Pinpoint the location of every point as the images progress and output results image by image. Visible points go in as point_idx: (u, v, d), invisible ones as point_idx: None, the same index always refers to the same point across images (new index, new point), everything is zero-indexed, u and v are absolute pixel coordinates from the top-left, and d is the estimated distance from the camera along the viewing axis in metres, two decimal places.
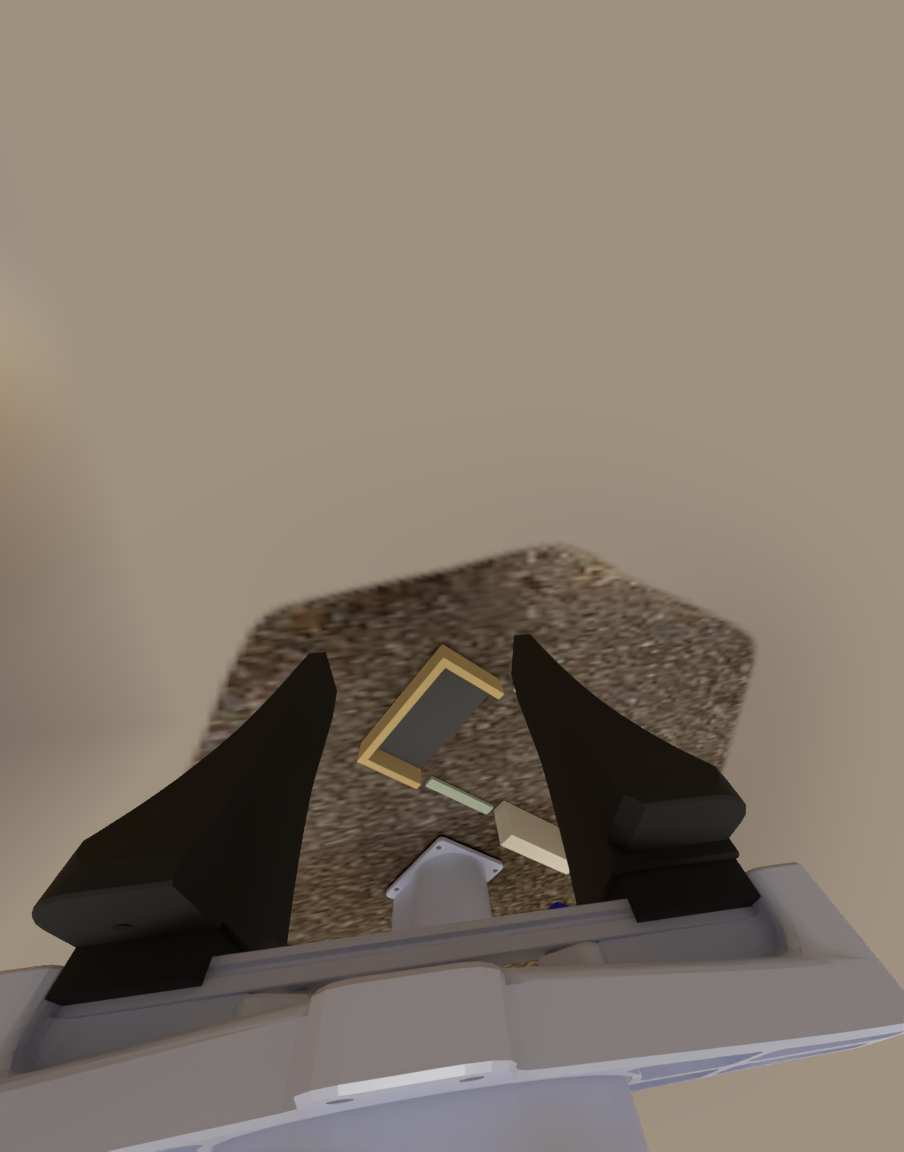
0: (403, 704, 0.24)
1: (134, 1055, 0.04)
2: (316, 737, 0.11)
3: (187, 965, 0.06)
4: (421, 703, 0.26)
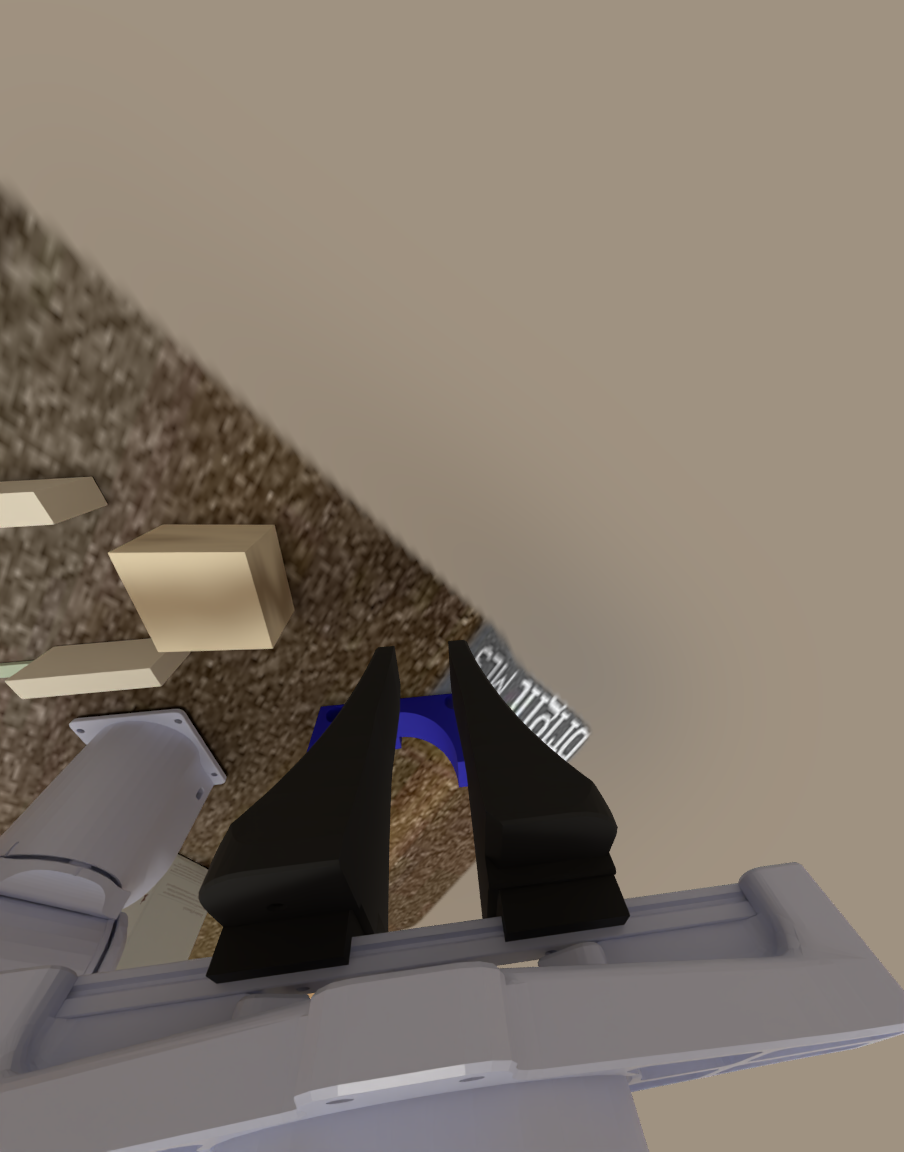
0: None
1: (134, 1055, 0.04)
2: (392, 729, 0.11)
3: (336, 944, 0.06)
4: None
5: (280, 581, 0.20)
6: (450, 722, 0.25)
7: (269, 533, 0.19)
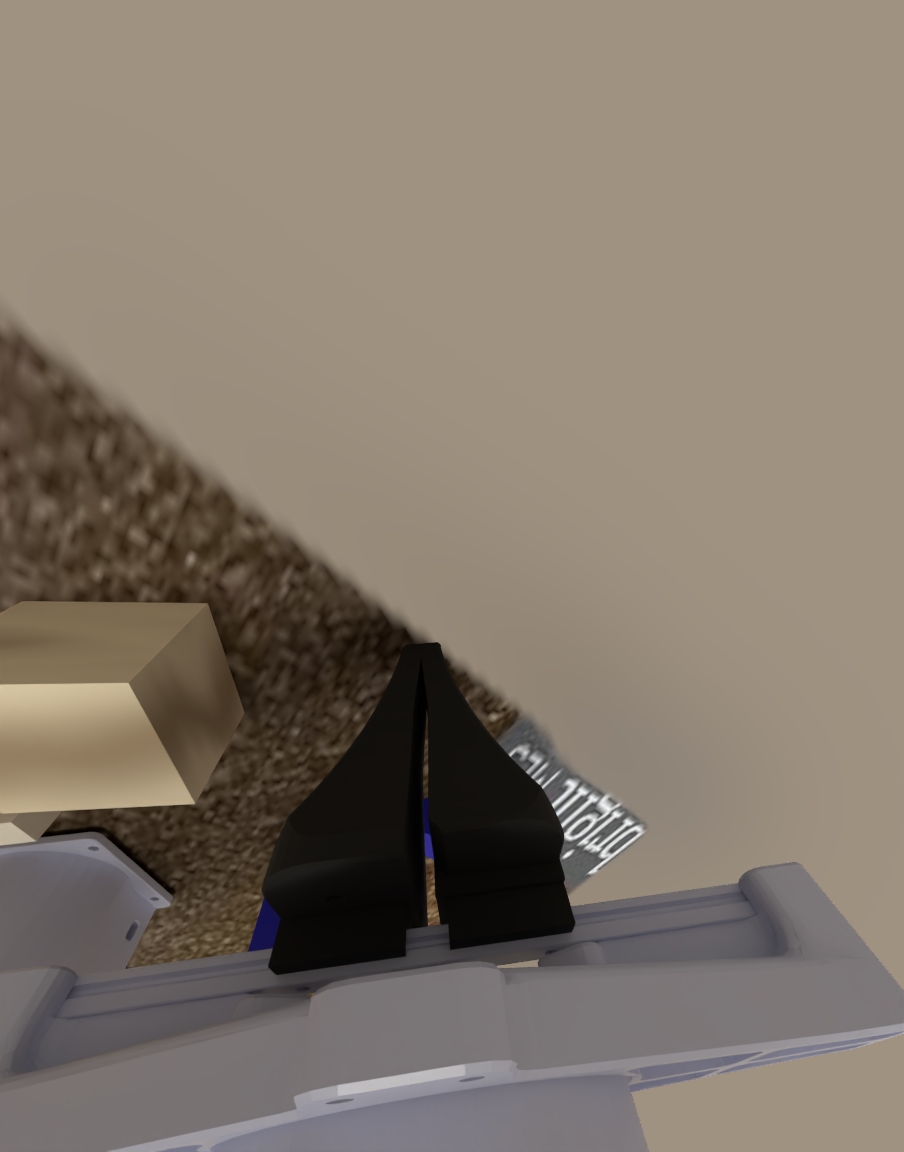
0: None
1: (134, 1055, 0.04)
2: (422, 726, 0.11)
3: (393, 936, 0.06)
4: None
5: (216, 687, 0.13)
6: None
7: (195, 622, 0.12)
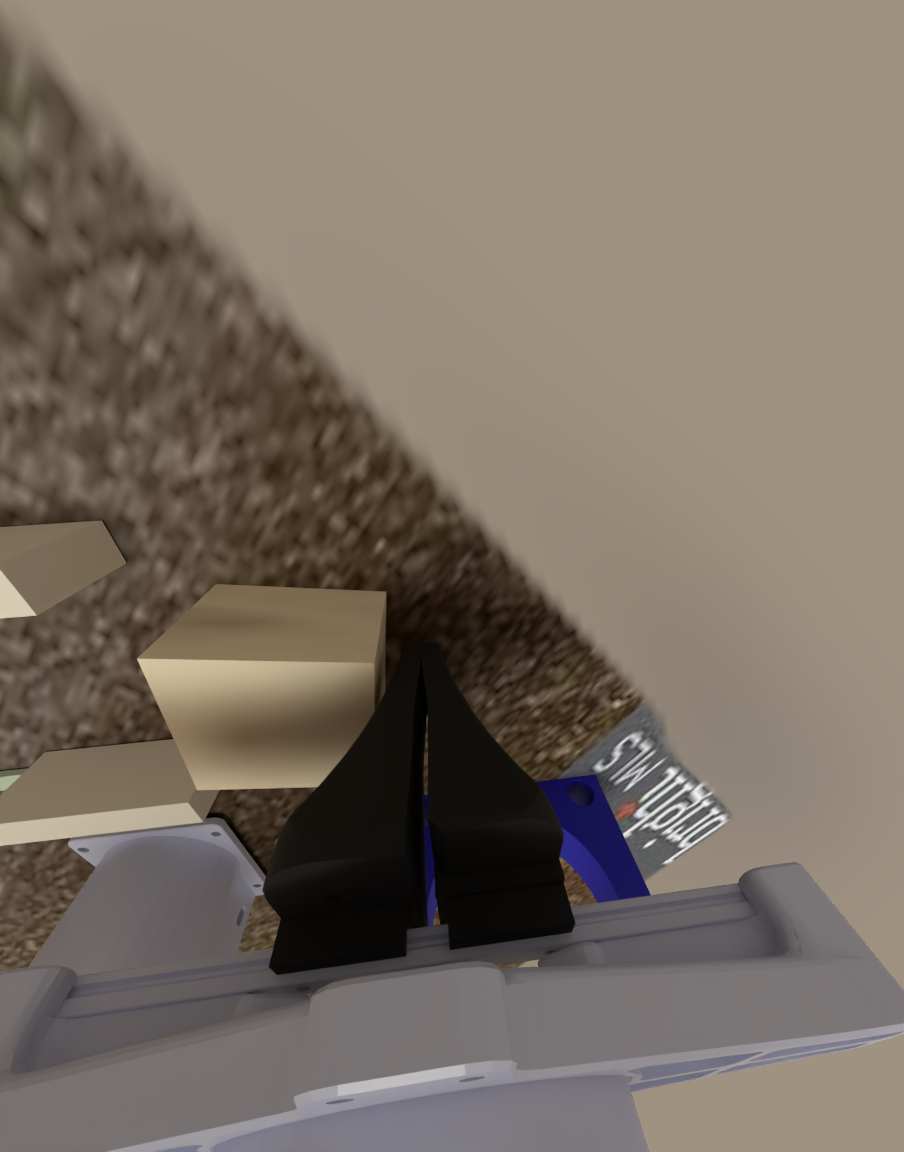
0: None
1: (134, 1055, 0.04)
2: (423, 726, 0.11)
3: (394, 936, 0.06)
4: None
5: (383, 674, 0.13)
6: (587, 830, 0.18)
7: (383, 609, 0.12)
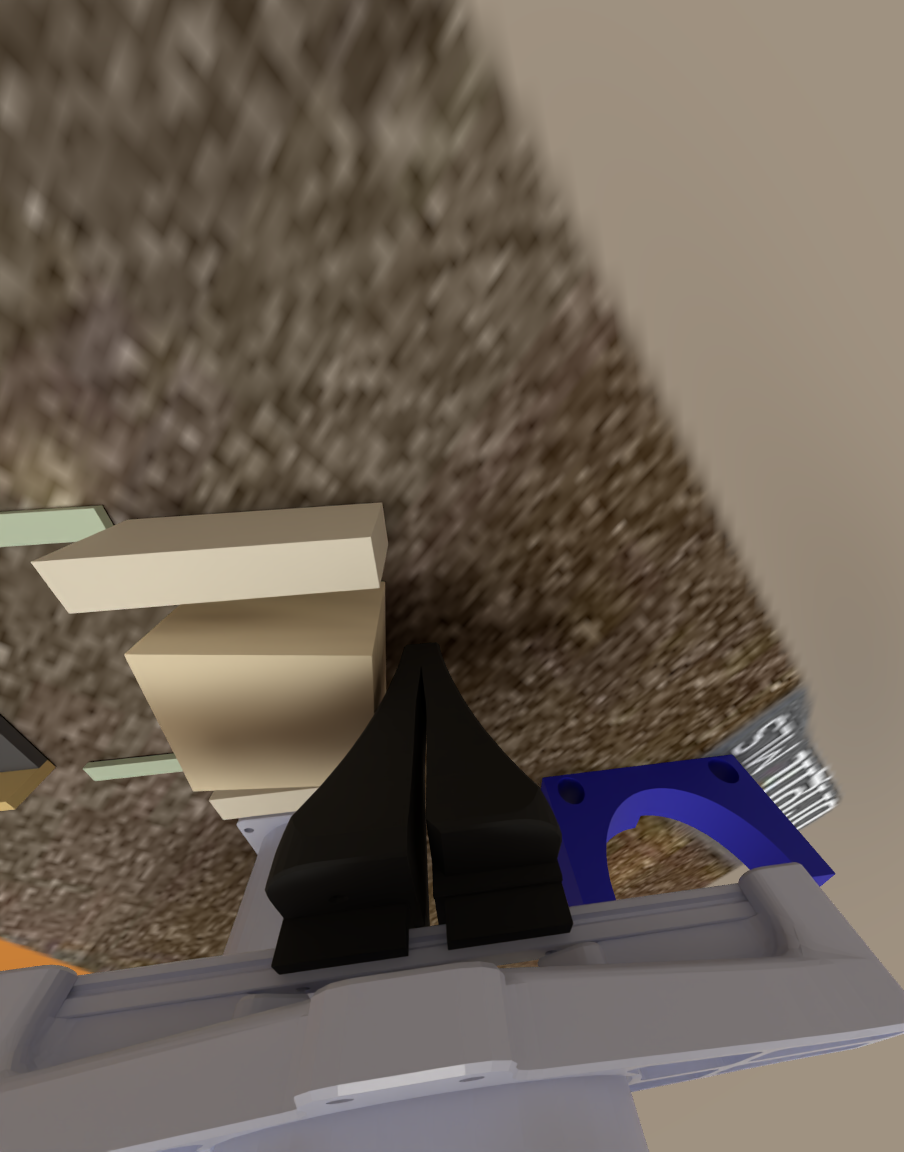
0: None
1: (134, 1055, 0.04)
2: (424, 726, 0.11)
3: (396, 936, 0.06)
4: None
5: (383, 669, 0.13)
6: (743, 806, 0.18)
7: (382, 601, 0.12)
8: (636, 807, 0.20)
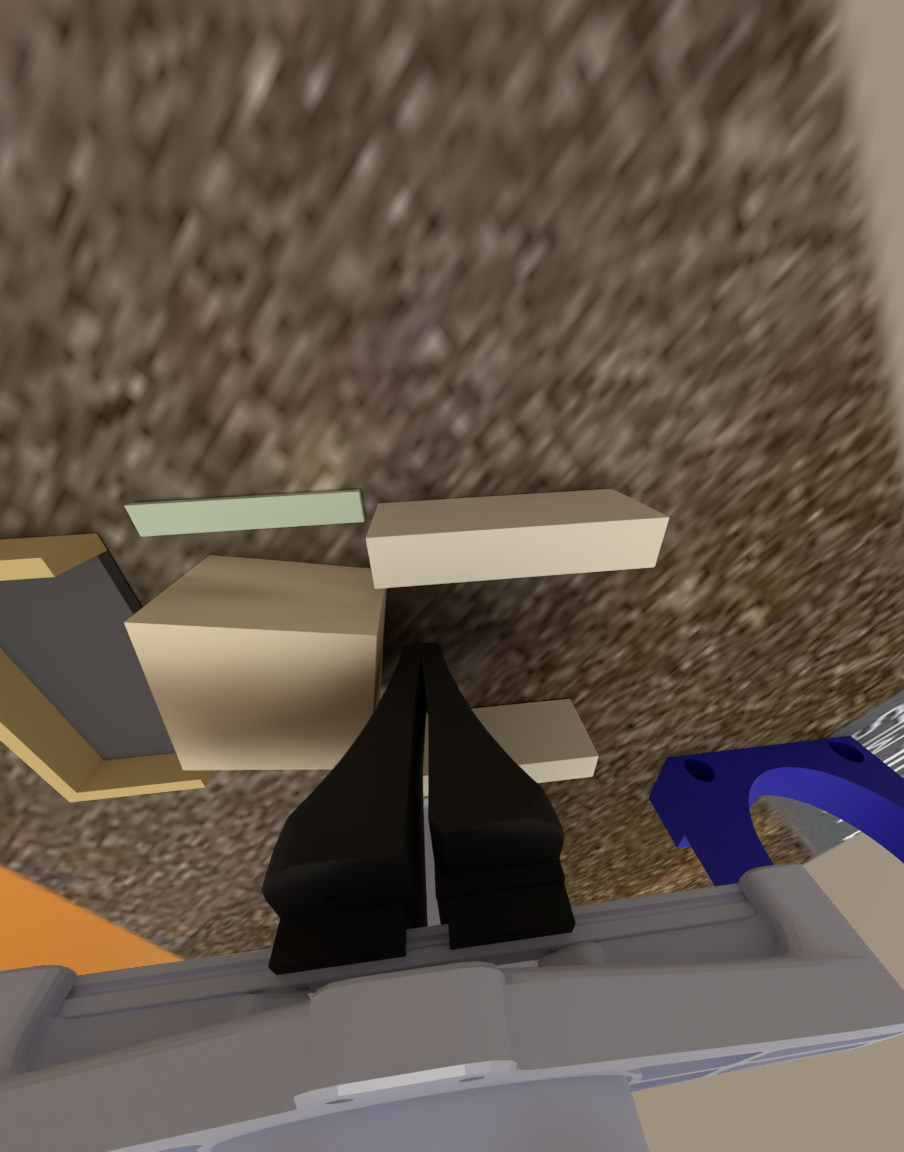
0: None
1: (134, 1055, 0.04)
2: (422, 726, 0.11)
3: (393, 936, 0.06)
4: (52, 667, 0.12)
5: (381, 655, 0.13)
6: (877, 783, 0.18)
7: None
8: (759, 787, 0.20)
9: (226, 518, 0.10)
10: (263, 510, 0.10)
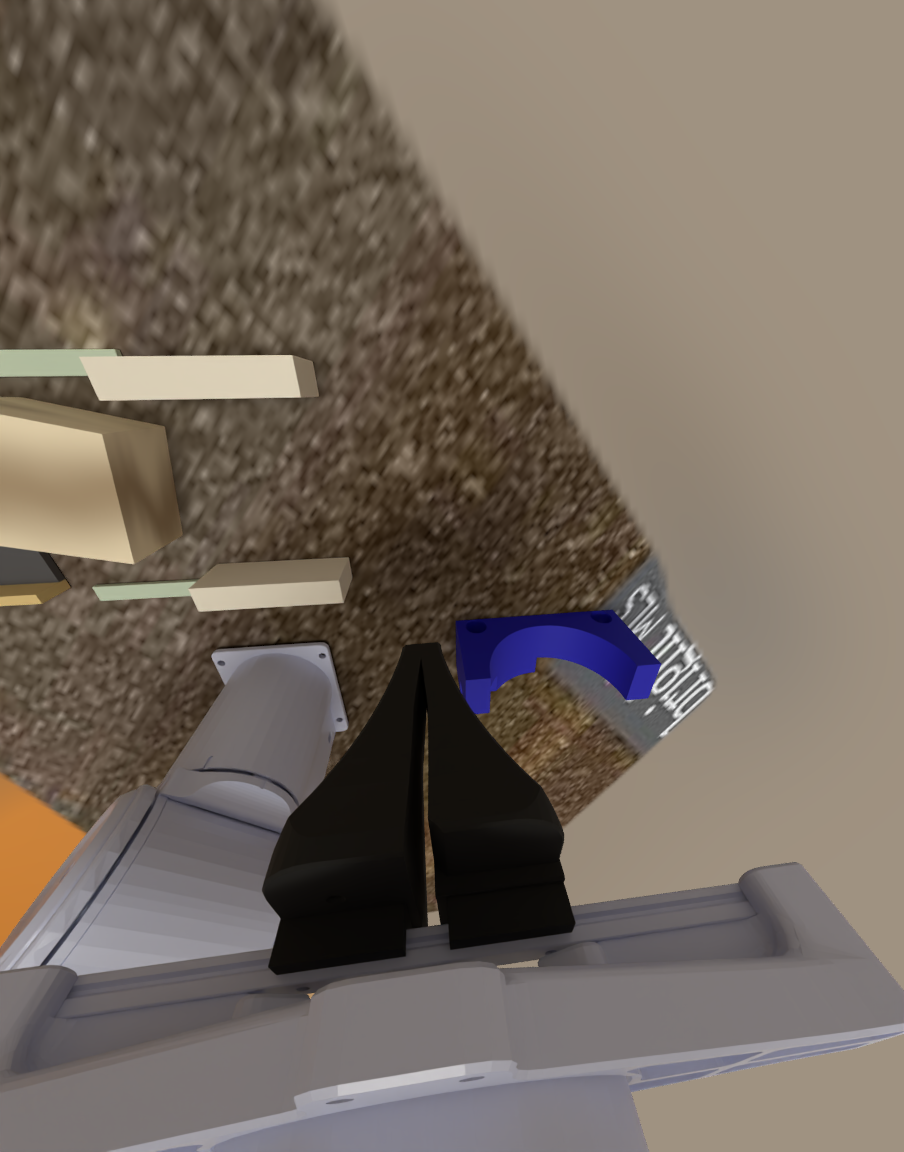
0: None
1: (134, 1055, 0.04)
2: (422, 726, 0.11)
3: (393, 936, 0.06)
4: None
5: (162, 493, 0.17)
6: (608, 633, 0.23)
7: (153, 432, 0.16)
8: (531, 646, 0.24)
9: (20, 365, 0.15)
10: (46, 360, 0.15)
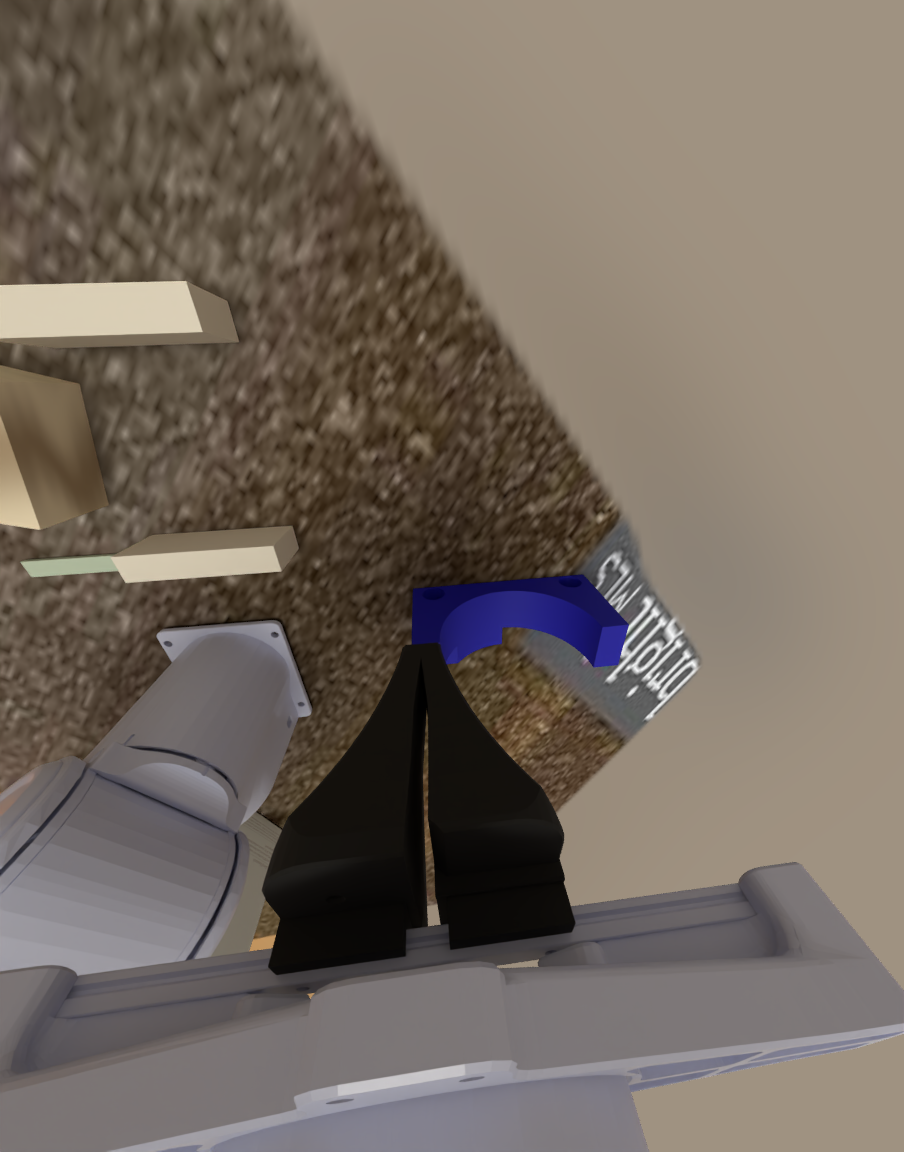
0: None
1: (134, 1056, 0.04)
2: (422, 726, 0.11)
3: (393, 936, 0.06)
4: None
5: (78, 457, 0.16)
6: (575, 597, 0.21)
7: (63, 388, 0.15)
8: (495, 615, 0.23)
9: None
10: None
